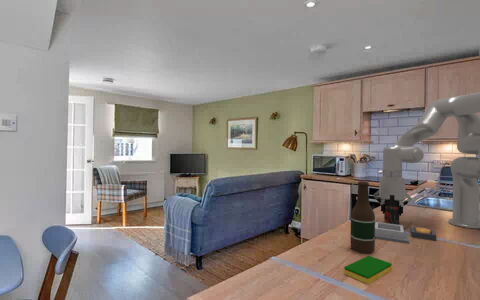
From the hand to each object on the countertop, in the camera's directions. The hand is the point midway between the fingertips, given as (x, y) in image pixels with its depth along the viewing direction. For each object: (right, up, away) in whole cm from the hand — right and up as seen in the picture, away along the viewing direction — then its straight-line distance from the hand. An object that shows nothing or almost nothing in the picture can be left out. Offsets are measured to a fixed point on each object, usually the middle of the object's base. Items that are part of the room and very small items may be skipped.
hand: (391, 213), depth 119 cm
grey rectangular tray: (-7, -6, -11) cm, 14 cm away
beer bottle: (-25, -7, -26) cm, 37 cm away
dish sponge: (-31, -7, -42) cm, 53 cm away
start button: (+6, -6, -11) cm, 14 cm away
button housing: (+6, -6, -11) cm, 14 cm away
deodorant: (0, -6, 0) cm, 6 cm away
